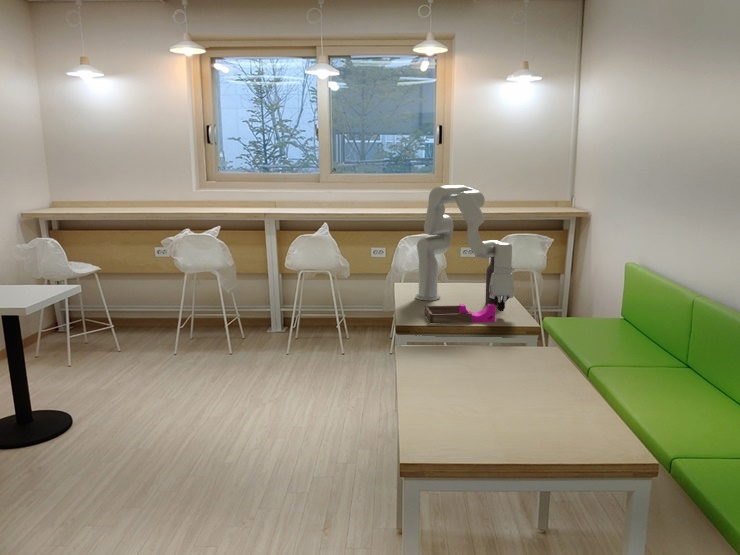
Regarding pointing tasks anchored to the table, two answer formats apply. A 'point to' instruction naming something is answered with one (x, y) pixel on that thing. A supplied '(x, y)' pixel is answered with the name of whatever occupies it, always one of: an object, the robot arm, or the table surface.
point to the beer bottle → (488, 278)
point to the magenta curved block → (481, 313)
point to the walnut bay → (447, 314)
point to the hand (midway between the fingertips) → (500, 310)
